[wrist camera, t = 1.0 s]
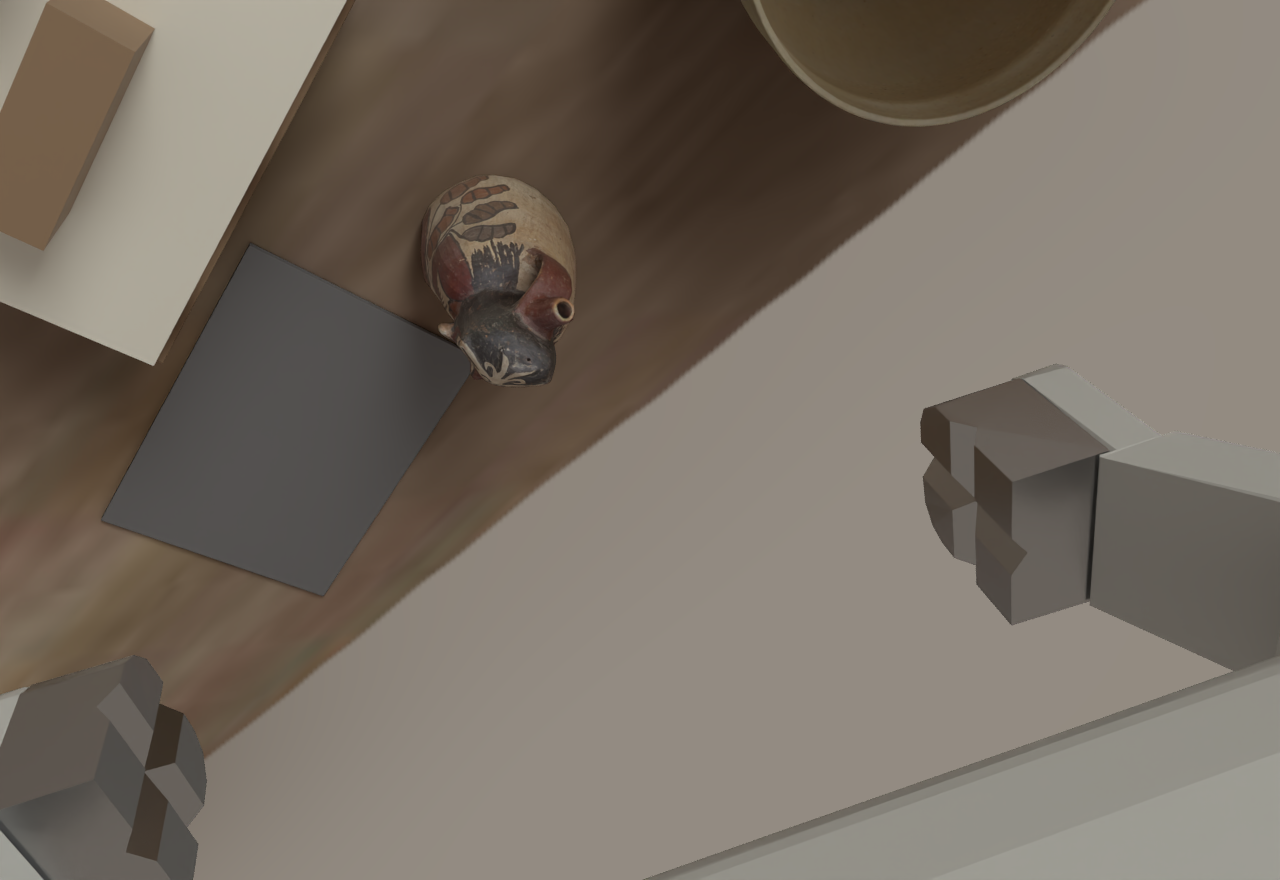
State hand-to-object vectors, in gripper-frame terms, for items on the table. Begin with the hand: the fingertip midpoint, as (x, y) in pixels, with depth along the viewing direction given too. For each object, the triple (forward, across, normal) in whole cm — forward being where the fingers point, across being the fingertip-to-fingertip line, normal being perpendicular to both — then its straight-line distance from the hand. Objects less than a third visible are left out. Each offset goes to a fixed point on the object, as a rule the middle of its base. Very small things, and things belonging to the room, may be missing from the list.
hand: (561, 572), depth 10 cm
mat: (+39, +12, +18) cm, 45 cm away
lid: (+30, +11, -1) cm, 32 cm away
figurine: (+39, -1, +11) cm, 41 cm away
